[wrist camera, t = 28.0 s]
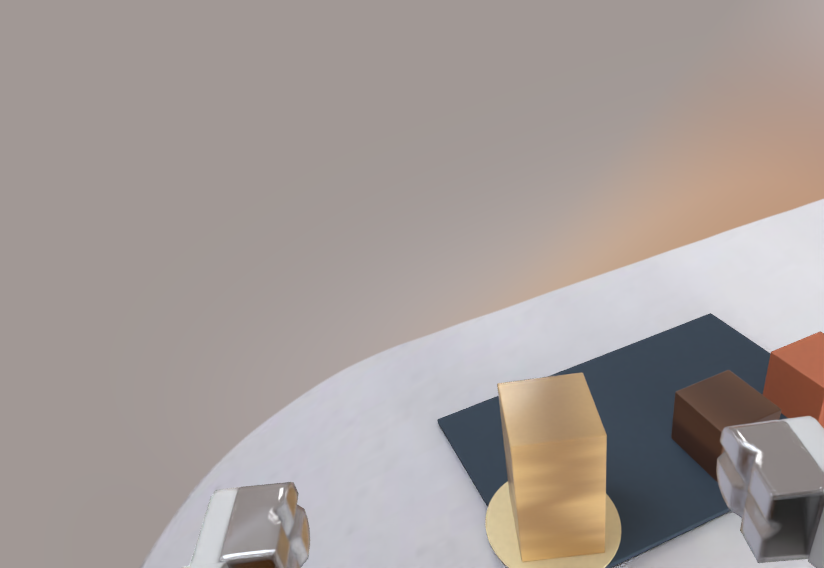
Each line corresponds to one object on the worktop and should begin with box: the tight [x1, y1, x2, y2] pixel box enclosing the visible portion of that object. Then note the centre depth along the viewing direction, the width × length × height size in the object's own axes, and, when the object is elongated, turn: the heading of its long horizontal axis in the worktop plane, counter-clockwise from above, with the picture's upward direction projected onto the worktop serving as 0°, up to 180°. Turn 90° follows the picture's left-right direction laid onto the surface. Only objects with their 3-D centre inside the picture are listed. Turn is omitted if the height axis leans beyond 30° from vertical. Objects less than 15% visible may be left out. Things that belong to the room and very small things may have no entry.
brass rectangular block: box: [497, 373, 607, 562], centre depth 37 cm, size 5×5×10 cm
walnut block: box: [671, 370, 781, 482], centre depth 42 cm, size 4×4×4 cm
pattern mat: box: [438, 313, 789, 568], centre depth 45 cm, size 27×16×1 cm, turn 111°
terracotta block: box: [763, 332, 824, 428], centre depth 43 cm, size 4×4×4 cm
